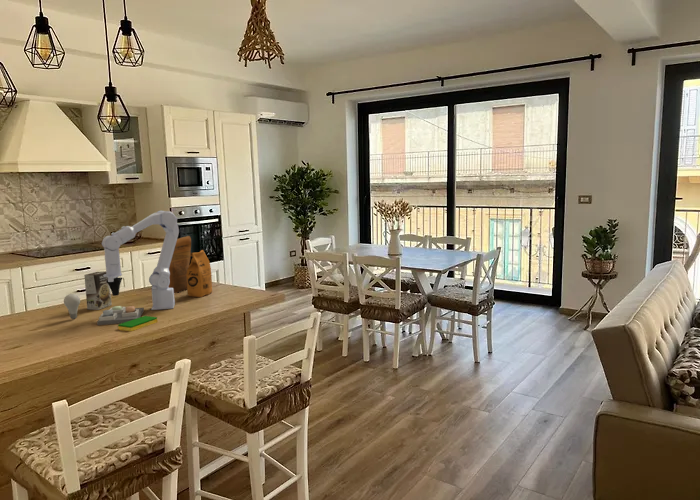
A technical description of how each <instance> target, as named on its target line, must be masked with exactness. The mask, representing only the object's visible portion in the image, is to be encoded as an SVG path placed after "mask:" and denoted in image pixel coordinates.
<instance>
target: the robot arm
mask: <svg viewBox="0 0 700 500" xmlns="http://www.w3.org/2000/svg"><path fill="white" fill-rule="evenodd" d="M152 225H159V226H161V227H162V229H163V231H164V232H165V236H164V239H163V243H162V247H161V250H160V253H159V256H158V262H157V263H156V264H157V265H156V266H155V268H154V269H153V271H152V274H150V276H149V278H148V282H149V284H150V285H151V298H152V300H151V301H152V306H151V309H150V310H151V311H155V310H157V311H158V310H167V309H168V310H169V309H174V307H175V304H176V300H175V293H174V289H173V288H169V284H170V279H169V277H170V272H169V267H170V263H171V259H172V256H173V252H174V248H175V245H176V241H177V239H179V233H180V229H179V225H178V217H177V215H175V214H174V212H172V211H170V210H158V211H155V212H153V213H151V214H150V215H148V216H146V217H145V218H143V219H142V220H140V221H138V222H137V223H135V224H133V225H132V226H129V225H126V226H125V225H123V226H121V228H120V229H118V230H117V231H116V232H113V231H112V233H111V235H107V236H104V237H103V239H102V242H101V245H102V247H103V248H104V249H103V250H104V263H105V271H106V274H104V275H103V276H104V277H107V278H108V280H106V282H107V283H108V285H109V286H110V291H111V296H114V297H116V296H119V294H120V288H121V283H122V281H123V277H121V276H123V274H122V267H121V258H120V251H119V250H120V247H121V245H123V244H126V243H127V242H129V241H131V240H133V239H134V238H136V234H137V233H138V232H141V231H142V230H145V229H147V228H148V227H151V226H152Z"/></svg>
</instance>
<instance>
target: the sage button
mask: <svg viewBox="0 0 700 500" xmlns="http://www.w3.org/2000/svg"><path fill="white" fill-rule="evenodd" d="M121 307H122V305H116V306H112V307H111V308H112V310H121V309H122V308H121Z"/></svg>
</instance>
